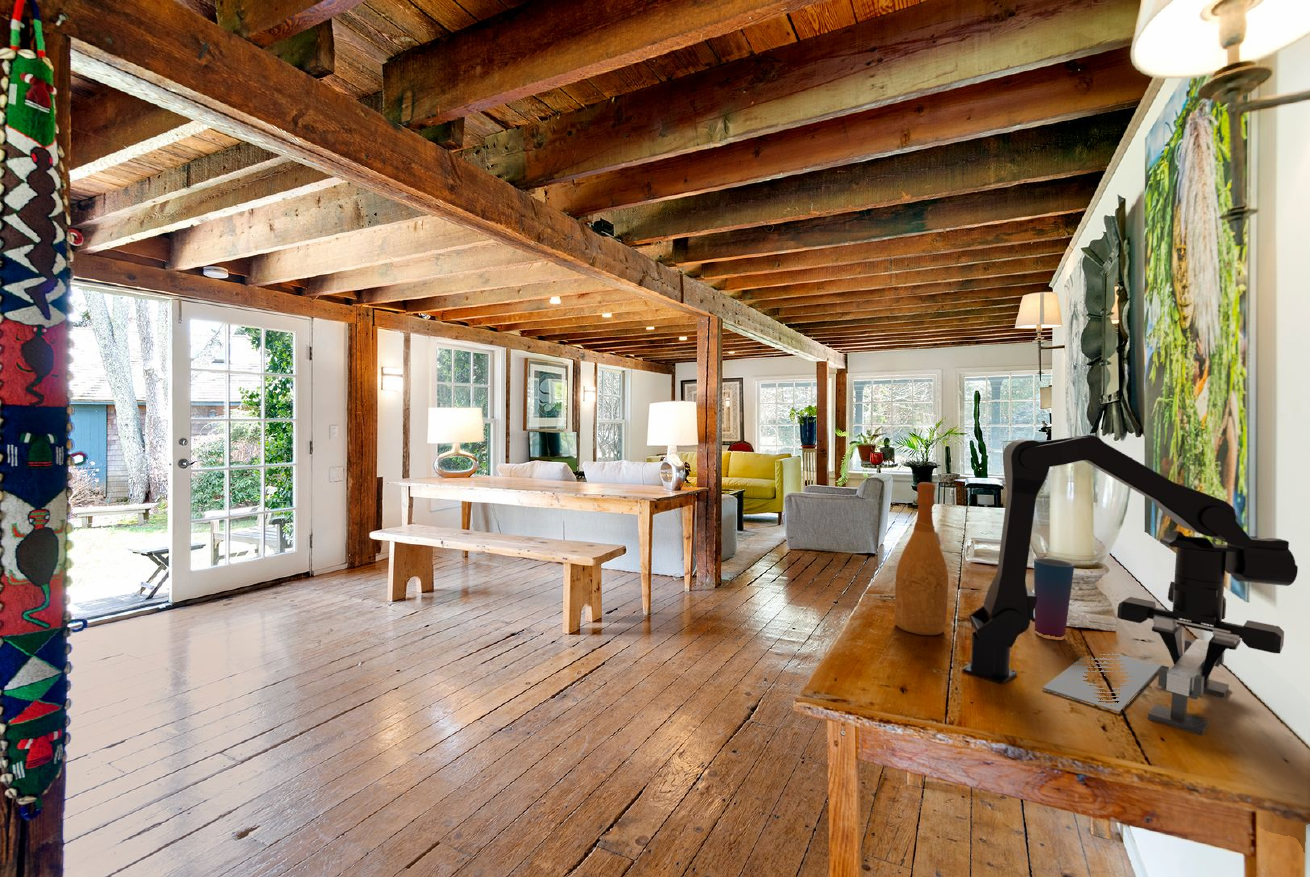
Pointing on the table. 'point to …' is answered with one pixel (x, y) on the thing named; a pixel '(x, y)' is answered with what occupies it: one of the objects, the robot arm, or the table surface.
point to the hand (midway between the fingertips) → (1192, 677)
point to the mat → (1080, 690)
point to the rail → (1187, 668)
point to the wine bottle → (922, 574)
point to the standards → (1178, 709)
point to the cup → (1052, 595)
